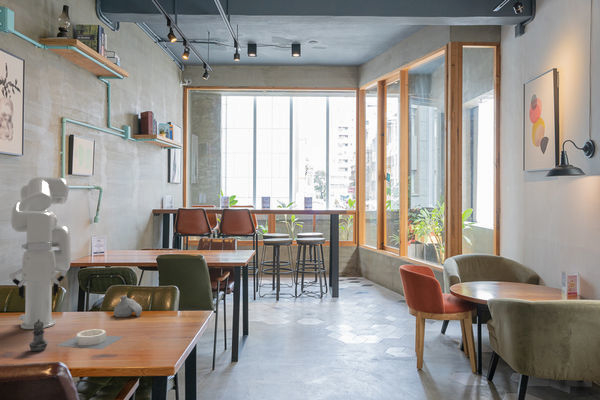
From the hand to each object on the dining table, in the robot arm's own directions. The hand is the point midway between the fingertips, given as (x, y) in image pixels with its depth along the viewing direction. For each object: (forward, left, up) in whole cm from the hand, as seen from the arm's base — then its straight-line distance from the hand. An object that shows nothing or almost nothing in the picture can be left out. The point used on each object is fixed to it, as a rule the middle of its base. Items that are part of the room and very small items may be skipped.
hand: (38, 296), depth 154 cm
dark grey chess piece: (0, 0, -20) cm, 20 cm away
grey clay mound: (+2, +52, -20) cm, 56 cm away
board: (+12, +12, -20) cm, 26 cm away
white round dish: (+12, +12, -19) cm, 25 cm away
